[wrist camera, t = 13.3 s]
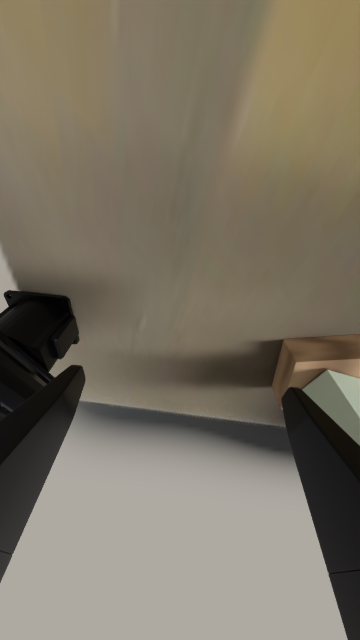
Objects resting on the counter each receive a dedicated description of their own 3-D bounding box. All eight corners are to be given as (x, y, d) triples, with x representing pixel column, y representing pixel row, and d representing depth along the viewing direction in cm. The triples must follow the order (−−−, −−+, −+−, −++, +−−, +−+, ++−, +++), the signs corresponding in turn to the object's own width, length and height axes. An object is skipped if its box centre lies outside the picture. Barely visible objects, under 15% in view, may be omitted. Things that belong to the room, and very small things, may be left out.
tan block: (271, 383, 30) (281, 409, 27) (282, 336, 25) (296, 362, 22) (336, 380, 29) (355, 406, 26) (362, 331, 24) (389, 357, 21)
